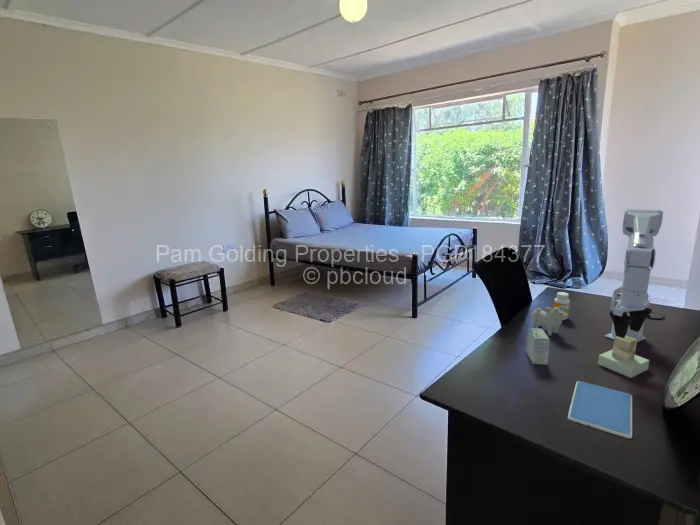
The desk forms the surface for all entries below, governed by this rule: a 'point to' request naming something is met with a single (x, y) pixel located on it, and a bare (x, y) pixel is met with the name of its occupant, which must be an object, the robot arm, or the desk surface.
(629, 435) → the tablet computer
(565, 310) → the supplement bottle
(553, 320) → the white animal figurine
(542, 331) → the medicine box
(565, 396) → the desk surface
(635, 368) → the sage base block
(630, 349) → the maple block
